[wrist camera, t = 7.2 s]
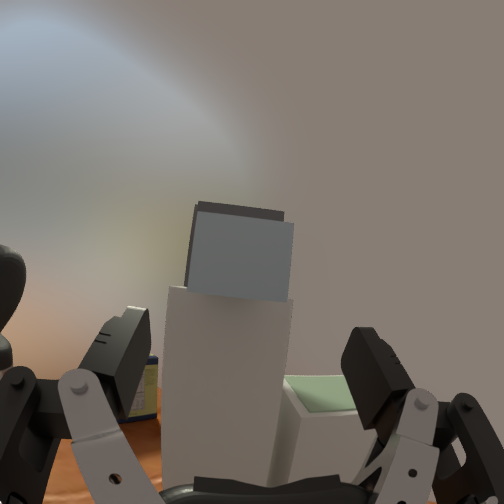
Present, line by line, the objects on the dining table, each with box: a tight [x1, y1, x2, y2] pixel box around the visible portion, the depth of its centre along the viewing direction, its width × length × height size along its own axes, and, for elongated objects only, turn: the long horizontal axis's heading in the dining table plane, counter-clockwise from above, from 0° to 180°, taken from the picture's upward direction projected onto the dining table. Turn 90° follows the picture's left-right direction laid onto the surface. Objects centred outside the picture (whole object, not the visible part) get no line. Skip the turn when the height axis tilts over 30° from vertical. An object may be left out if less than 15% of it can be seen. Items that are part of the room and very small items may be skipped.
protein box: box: [94, 340, 158, 423], centre depth 56 cm, size 10×16×16 cm
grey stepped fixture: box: [161, 205, 377, 490], centre depth 26 cm, size 13×22×41 cm, turn 96°
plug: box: [187, 201, 294, 303], centre depth 22 cm, size 19×7×7 cm, turn 6°
